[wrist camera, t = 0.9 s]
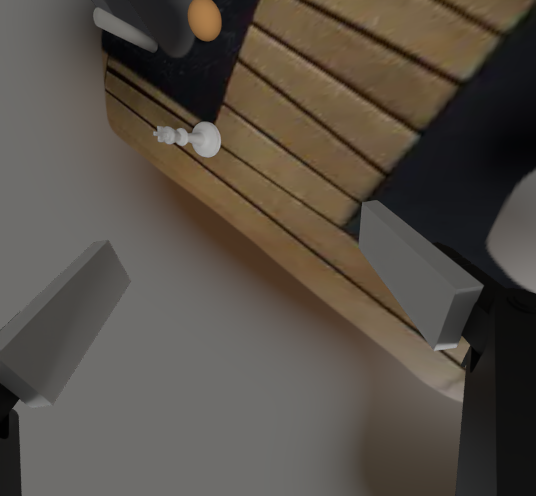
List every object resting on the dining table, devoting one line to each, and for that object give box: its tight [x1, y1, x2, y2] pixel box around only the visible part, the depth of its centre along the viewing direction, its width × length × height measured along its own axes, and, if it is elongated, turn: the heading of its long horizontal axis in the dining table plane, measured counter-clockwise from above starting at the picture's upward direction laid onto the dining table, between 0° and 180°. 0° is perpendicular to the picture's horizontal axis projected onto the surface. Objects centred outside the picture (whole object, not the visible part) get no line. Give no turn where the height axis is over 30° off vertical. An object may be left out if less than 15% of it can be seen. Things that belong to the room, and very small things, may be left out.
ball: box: [188, 0, 221, 41], centre depth 30 cm, size 4×4×4 cm
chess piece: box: [153, 122, 221, 157], centre depth 33 cm, size 5×5×10 cm
